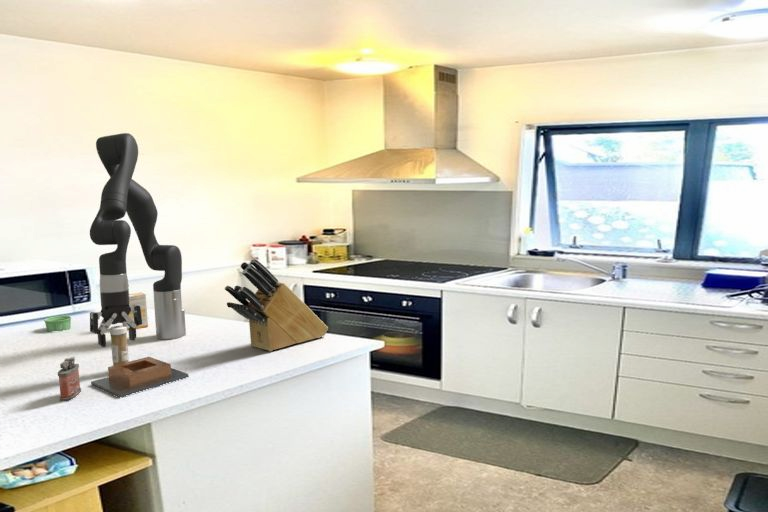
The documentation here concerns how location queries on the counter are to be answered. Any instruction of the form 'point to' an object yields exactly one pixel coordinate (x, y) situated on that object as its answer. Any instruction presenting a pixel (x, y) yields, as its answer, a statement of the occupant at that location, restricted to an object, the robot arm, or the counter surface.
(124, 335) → the spice jar
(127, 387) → the collar deck
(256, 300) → the knife block
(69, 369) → the lighter
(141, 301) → the supplement box
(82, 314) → the counter surface
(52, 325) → the ramekin
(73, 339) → the counter surface
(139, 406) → the counter surface
